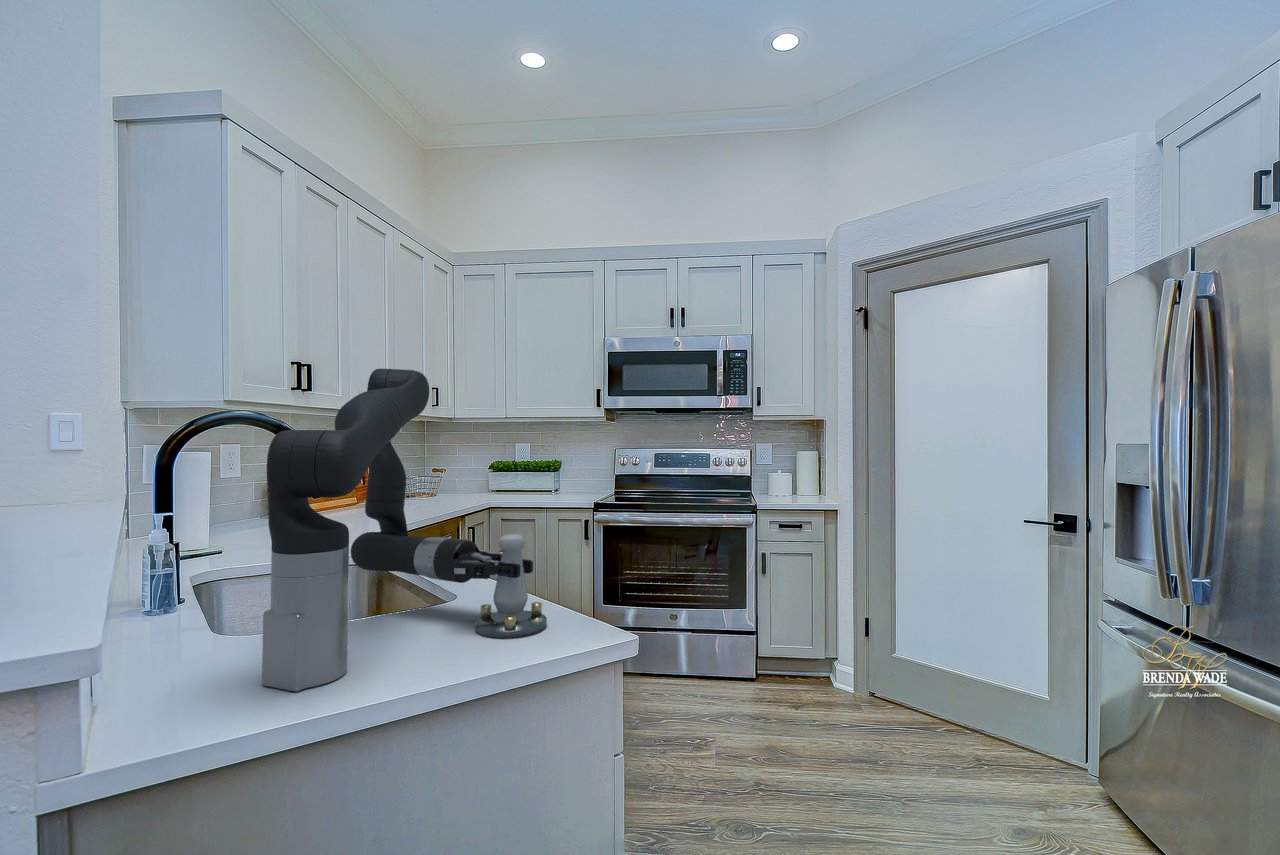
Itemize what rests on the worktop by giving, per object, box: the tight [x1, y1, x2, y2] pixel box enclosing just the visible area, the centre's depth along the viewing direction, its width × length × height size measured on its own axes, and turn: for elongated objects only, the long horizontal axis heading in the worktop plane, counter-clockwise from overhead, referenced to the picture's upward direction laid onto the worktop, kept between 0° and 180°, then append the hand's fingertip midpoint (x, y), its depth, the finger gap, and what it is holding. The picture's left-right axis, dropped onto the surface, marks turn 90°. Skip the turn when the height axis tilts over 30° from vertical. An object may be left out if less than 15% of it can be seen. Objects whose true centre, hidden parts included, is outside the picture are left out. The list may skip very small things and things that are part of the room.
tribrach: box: [474, 601, 548, 640], centre depth 103 cm, size 12×12×3 cm
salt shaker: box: [493, 533, 529, 615], centre depth 103 cm, size 6×6×13 cm
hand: (525, 569), depth 102 cm, fingers closed on salt shaker, 3 cm apart
